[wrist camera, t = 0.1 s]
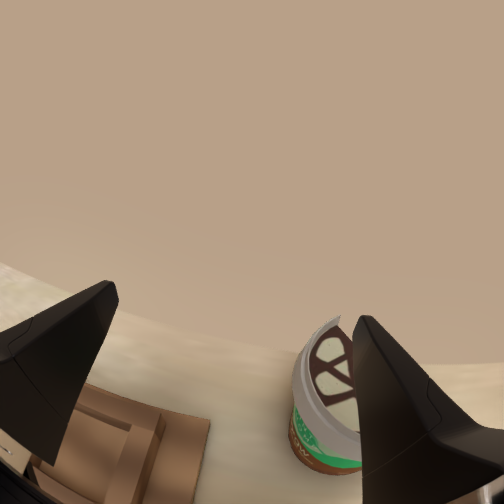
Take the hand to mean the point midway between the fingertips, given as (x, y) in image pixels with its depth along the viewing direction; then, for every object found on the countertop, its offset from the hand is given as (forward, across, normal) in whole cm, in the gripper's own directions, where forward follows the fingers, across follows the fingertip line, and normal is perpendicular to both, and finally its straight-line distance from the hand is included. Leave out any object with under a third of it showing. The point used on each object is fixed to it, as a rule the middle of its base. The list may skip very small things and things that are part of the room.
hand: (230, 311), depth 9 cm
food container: (+2, -7, +17) cm, 18 cm away
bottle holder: (-4, +11, +17) cm, 20 cm away
